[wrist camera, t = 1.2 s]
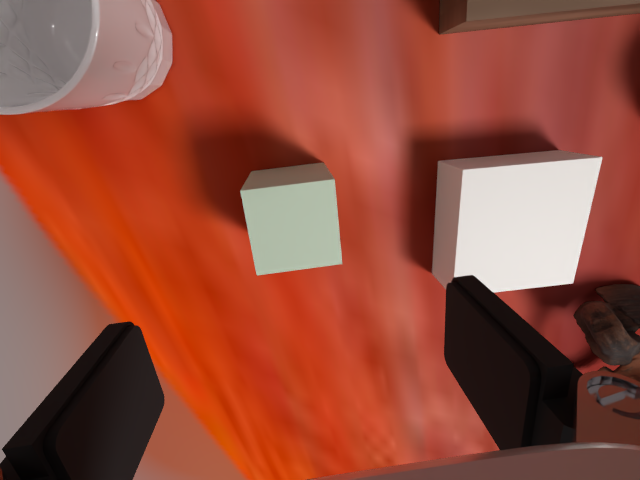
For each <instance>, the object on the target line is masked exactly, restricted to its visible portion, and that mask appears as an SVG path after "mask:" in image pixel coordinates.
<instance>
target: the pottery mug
mask: <svg viewBox="0 0 640 480" xmlns="http://www.w3.org/2000/svg"><path fill="white" fill-rule="evenodd" d="M595 291H596V293H597V294H598V295H600V296H601V297H602V298H603V299H604V301H605V302H601V301H590V302H585V303H583V304H582V305H581V306H580V307H579V308H578V309H577V311H576V312H575V314H574V318H575V319H576V321H577V324H578V325H579V326H580V328H581V329H582V331H583V332H584V333H585V338H586V340H587V342H588V344H589V345H590V348H591V350H592V352H593V353H594V354H595V355H597V356H598V357H599V358H600V359H601V360H602V361H603V362H605V363H607V364H609V365H620V366H619V367H618V368H617V369H616V370H614V371H612V370H611V369H609V368H607V367H602V368H600V369H599V370H598V371H607V372H612V373H617V374H621V375H624V376H627V377H629V378H632V379H634V380H636V381H638V382H640V336H639V335H637V334H635V332H636V331H637V330H638V329H639V328H640V286H636V285H633V284H614V285H608V286H603V287H599V288H596V290H595Z"/></svg>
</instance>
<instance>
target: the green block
mask: <svg viewBox="0 0 640 480" xmlns="http://www.w3.org/2000/svg"><path fill="white" fill-rule="evenodd" d="M240 192H241V198H242V203H243V208H244V213H245V218H246V223H247V228H248V233H249V238H250V244H251V249H252V254H253V259H254V264H255V269H256V274H257V275H263V274H271V273H278V272H286V271H293V270H300V269H308V268H315V267H323V266H330V265H337V264H342V256H341V245H340V234H339V222H338V211H337V200H336V189H335V179H334V178H333V176H332V174H331V173H330V171H329V170H328V168H327V167H326V165H325V164H324V162H323V163H314V164H306V165H298V166H290V167H281V168H273V169H265V170H257V171H251V173H250V174H249V176H248V178H247V180H246V181H245V183H244V185H243V187H242V189H241V190H240Z"/></svg>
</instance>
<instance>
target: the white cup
mask: <svg viewBox="0 0 640 480" xmlns="http://www.w3.org/2000/svg"><path fill="white" fill-rule="evenodd" d="M171 65H172V33H171V30H170V28H169V26H168V23H167V21H166V18H165V16H164V14H163V11H162V9H161V7H160V5H159V3H158V2H157V1H156V0H0V114H1V115H13V114H25V113H36V112H48V111H56V110H69V109H84V108H90V107H99V106H105V105H113V104H117V103H119V102H122V101H129V100H140V99H143V98H144V97H146V96H147V95H149V94H150V93H152V92H153V91H155V90H156V89H158V88H159V87H160V86H162V84H163V82H164V80H165V78H166V75H167V73H168V71H169V69H170V67H171Z"/></svg>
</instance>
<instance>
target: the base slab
mask: <svg viewBox="0 0 640 480" xmlns="http://www.w3.org/2000/svg"><path fill="white" fill-rule="evenodd" d="M601 161H602V157H599V156H592V155H586V154H580V153H574V152H568V151H562V150H554V151H543V152H531V153H520V154H509V155H498V156H486V157H475V158H464V159H453V160H442V161H438V172H437V190H436V208H435V227H434V245H433V263H432V274H433V275H434V276H435V278H436V279H437V280H438V281H439V282H440V283H441V284H442V286H443V287H444V288H445V289H446V286H447V284H448V283H451V281H452V279H453V278H454V277H460V276H467V275H473V276H475V277H476V278H477V279H478V280H480V281H481V282H482V283H483V284H484V285H485V286H486V287H488V288H489V289H490V290H491V291H492V292H502V291H511V290H519V289H528V288H537V287H546V286H555V285H564V284H573V282H574V278H575V273H576V269H577V265H578V260H579V256H580V252H581V248H582V243H583V239H584V235H585V230H586V226H587V222H588V217H589V213H590V209H591V204H592V200H593V196H594V191H595V187H596V183H597V179H598V174H599V170H600V166H601Z"/></svg>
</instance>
